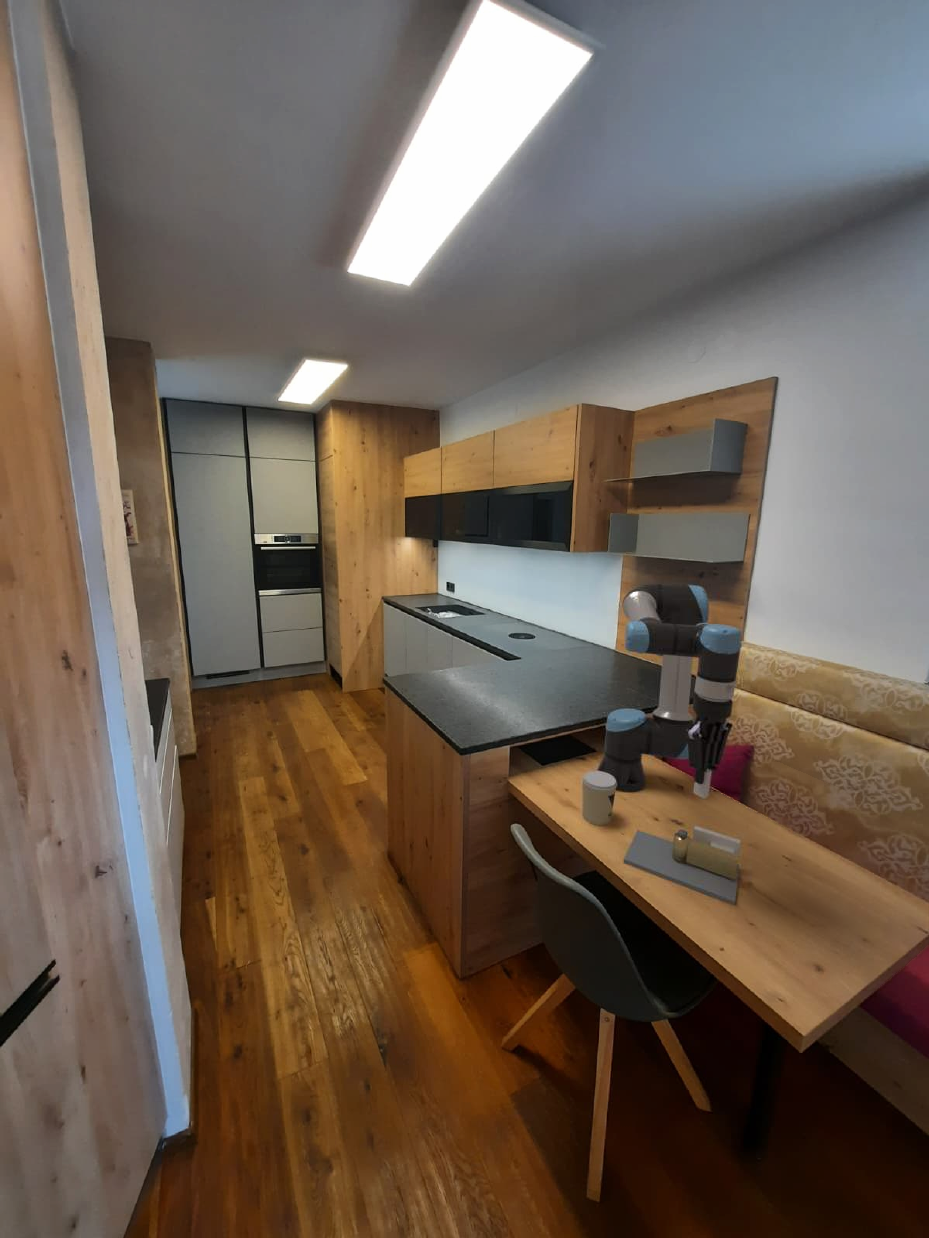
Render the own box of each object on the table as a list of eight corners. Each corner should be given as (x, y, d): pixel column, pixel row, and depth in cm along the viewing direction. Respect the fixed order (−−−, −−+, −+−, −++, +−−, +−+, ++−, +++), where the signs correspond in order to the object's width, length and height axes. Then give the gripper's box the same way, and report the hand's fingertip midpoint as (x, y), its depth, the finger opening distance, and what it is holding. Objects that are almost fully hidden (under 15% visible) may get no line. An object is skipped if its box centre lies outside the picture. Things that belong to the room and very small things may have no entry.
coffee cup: (615, 829, 131) (618, 789, 128) (580, 824, 132) (583, 784, 130) (611, 809, 140) (615, 772, 137) (579, 805, 141) (581, 768, 139)
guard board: (637, 833, 129) (640, 804, 128) (738, 868, 116) (743, 837, 115) (623, 862, 118) (626, 831, 116) (734, 905, 105) (739, 871, 103)
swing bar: (670, 858, 117) (673, 838, 116) (673, 850, 120) (675, 830, 119) (734, 881, 110) (737, 860, 109) (736, 872, 113) (739, 851, 112)
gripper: (709, 706, 98) (696, 811, 102) (748, 697, 103) (734, 796, 108) (678, 695, 104) (667, 793, 109) (717, 686, 110) (704, 780, 115)
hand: (700, 794), depth 108 cm, fingers closed
